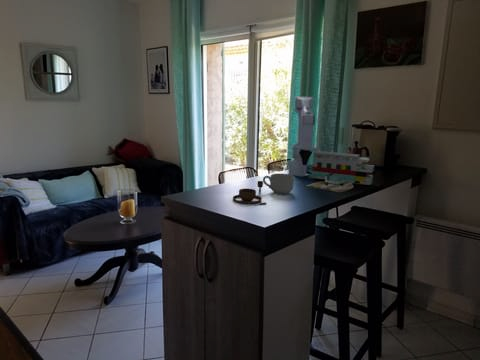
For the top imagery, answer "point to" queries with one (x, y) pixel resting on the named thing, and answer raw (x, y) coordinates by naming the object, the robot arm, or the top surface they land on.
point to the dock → (332, 186)
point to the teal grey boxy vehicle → (333, 179)
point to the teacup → (280, 183)
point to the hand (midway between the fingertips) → (304, 165)
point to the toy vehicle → (342, 167)
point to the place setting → (249, 195)
